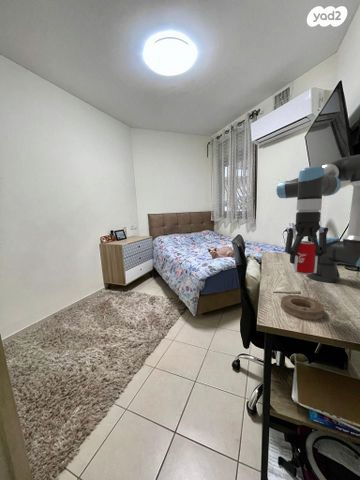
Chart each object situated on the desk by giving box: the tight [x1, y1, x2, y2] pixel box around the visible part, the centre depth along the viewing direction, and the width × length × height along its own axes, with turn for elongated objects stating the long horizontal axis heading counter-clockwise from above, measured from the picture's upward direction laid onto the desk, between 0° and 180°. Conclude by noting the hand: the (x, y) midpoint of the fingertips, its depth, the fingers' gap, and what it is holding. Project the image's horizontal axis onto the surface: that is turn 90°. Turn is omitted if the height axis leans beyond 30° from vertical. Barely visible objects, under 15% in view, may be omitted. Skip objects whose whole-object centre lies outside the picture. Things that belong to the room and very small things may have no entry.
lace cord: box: [272, 289, 302, 294], centre depth 92 cm, size 12×1×1 cm, turn 83°
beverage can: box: [296, 240, 316, 276], centre depth 73 cm, size 6×6×12 cm
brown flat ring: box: [280, 294, 325, 320], centre depth 76 cm, size 14×14×3 cm
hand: (303, 271), depth 74 cm, fingers closed on beverage can, 6 cm apart
